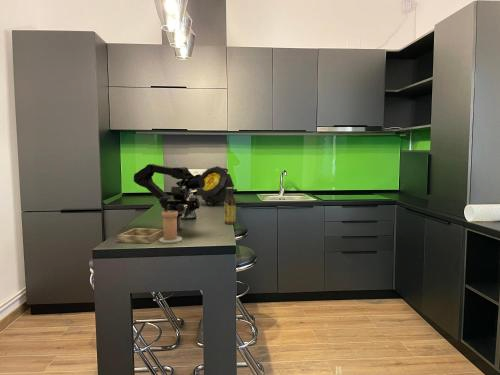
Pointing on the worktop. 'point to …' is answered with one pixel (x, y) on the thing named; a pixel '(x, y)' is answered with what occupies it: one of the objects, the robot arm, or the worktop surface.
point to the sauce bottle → (229, 207)
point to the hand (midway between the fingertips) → (175, 217)
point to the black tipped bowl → (215, 185)
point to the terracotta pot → (170, 224)
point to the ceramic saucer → (170, 240)
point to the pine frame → (133, 238)
